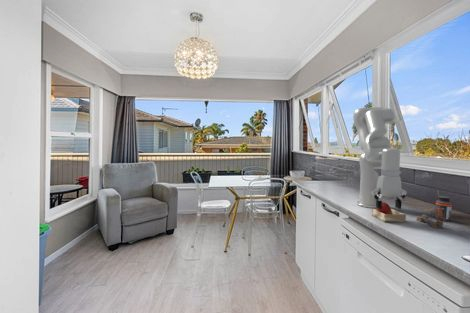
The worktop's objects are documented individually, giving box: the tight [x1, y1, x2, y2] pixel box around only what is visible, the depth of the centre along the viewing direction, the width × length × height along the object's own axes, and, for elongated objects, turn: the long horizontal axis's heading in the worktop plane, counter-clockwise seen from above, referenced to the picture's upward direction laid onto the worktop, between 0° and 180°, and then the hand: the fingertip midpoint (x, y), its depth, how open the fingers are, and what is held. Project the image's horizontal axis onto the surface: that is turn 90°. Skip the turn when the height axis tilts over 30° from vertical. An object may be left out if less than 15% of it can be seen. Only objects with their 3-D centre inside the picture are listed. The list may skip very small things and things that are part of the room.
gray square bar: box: [417, 215, 442, 227], centre depth 113 cm, size 12×1×1 cm, turn 2°
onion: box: [376, 201, 392, 214], centre depth 121 cm, size 6×6×8 cm
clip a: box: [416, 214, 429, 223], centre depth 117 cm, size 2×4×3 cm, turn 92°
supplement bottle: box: [434, 195, 453, 222], centre depth 119 cm, size 6×6×11 cm
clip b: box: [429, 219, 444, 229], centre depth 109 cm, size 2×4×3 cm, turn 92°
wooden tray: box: [371, 208, 407, 223], centre depth 120 cm, size 10×10×4 cm
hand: (388, 208), depth 120 cm, fingers open, 9 cm apart
